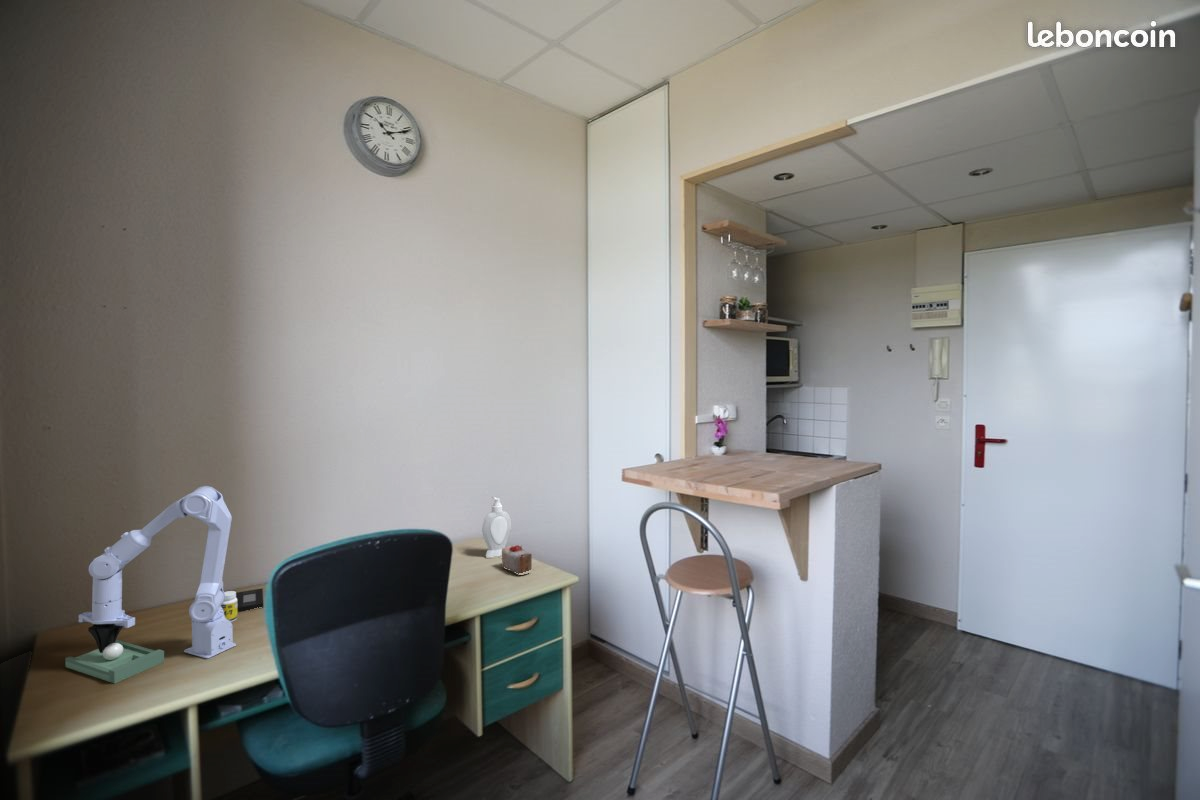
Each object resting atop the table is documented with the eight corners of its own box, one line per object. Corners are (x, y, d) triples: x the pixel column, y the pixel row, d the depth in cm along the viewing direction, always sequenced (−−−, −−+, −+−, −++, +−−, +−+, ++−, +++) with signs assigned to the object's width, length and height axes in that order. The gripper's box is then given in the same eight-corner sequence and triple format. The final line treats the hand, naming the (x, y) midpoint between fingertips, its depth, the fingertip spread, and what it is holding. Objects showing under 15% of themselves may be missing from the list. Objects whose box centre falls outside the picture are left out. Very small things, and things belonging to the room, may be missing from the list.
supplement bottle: (216, 624, 165) (215, 597, 165) (222, 618, 170) (221, 591, 170) (234, 622, 167) (234, 595, 166) (239, 616, 171) (239, 589, 171)
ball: (125, 657, 144) (128, 646, 143) (107, 666, 140) (109, 655, 139) (116, 647, 145) (118, 636, 144) (97, 656, 141) (100, 645, 140)
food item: (498, 568, 218) (498, 543, 217) (515, 563, 223) (515, 539, 223) (517, 577, 208) (517, 552, 207) (535, 573, 213) (535, 547, 213)
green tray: (164, 661, 144) (164, 650, 144) (114, 683, 134) (114, 671, 133) (116, 647, 151) (116, 636, 151) (65, 667, 141) (65, 655, 141)
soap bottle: (506, 550, 240) (506, 494, 239) (513, 555, 233) (514, 498, 232) (477, 555, 233) (478, 497, 232) (484, 560, 226) (484, 501, 225)
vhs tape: (262, 594, 190) (262, 588, 190) (263, 609, 178) (263, 603, 178) (236, 598, 186) (236, 592, 186) (235, 614, 174) (235, 608, 174)
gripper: (146, 596, 145) (145, 647, 146) (98, 590, 147) (97, 641, 148) (120, 606, 138) (118, 660, 139) (70, 601, 140) (69, 653, 141)
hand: (106, 651), depth 143 cm, fingers closed
